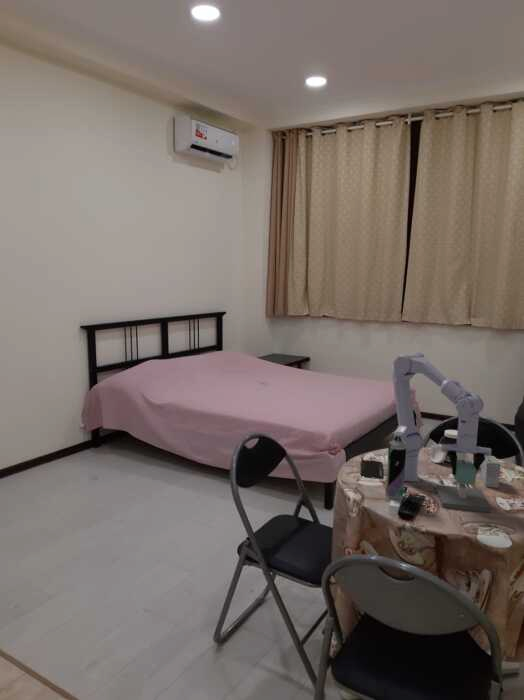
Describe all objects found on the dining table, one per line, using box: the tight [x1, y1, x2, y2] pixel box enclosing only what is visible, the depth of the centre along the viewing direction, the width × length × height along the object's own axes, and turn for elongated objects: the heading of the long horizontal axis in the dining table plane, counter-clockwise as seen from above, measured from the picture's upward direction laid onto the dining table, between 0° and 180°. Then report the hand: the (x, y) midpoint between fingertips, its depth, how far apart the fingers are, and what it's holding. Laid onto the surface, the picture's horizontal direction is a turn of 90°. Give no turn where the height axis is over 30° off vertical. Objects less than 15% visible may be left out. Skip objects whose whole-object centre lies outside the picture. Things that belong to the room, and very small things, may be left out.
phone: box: [359, 459, 384, 479], centre depth 185 cm, size 8×1×15 cm
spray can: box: [385, 436, 406, 500], centre depth 162 cm, size 6×6×20 cm
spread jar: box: [429, 429, 468, 465], centre depth 194 cm, size 12×11×12 cm
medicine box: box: [479, 455, 501, 489], centre depth 174 cm, size 8×4×9 cm, turn 168°
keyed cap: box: [452, 459, 477, 486], centre depth 160 cm, size 5×8×5 cm
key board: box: [435, 483, 492, 513], centre depth 160 cm, size 14×14×5 cm
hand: (463, 475), depth 160 cm, fingers closed on keyed cap, 5 cm apart
